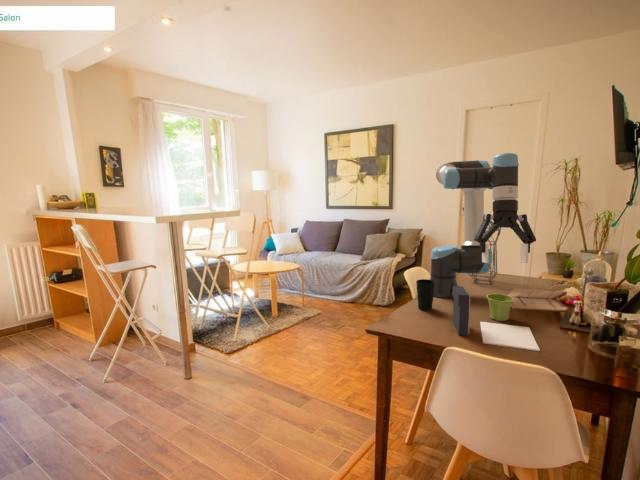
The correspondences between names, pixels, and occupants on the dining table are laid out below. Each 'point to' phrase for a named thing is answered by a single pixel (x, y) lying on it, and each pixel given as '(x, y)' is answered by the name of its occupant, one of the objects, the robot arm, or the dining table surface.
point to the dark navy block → (461, 310)
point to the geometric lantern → (493, 259)
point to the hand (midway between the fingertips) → (504, 262)
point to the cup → (425, 294)
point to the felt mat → (508, 336)
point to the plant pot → (499, 306)
